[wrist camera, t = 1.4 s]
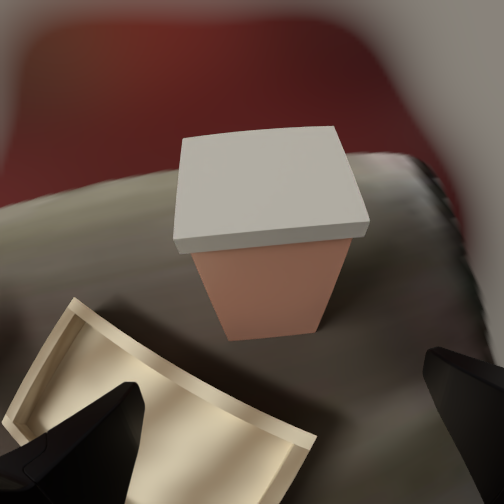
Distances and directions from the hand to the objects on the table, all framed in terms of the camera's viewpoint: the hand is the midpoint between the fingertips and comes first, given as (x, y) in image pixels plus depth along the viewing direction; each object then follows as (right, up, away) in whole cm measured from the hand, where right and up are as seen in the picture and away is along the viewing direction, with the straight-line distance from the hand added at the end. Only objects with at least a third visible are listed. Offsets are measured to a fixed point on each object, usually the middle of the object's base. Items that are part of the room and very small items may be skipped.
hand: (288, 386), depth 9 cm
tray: (-9, -10, +10) cm, 17 cm away
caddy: (0, 0, +16) cm, 16 cm away
